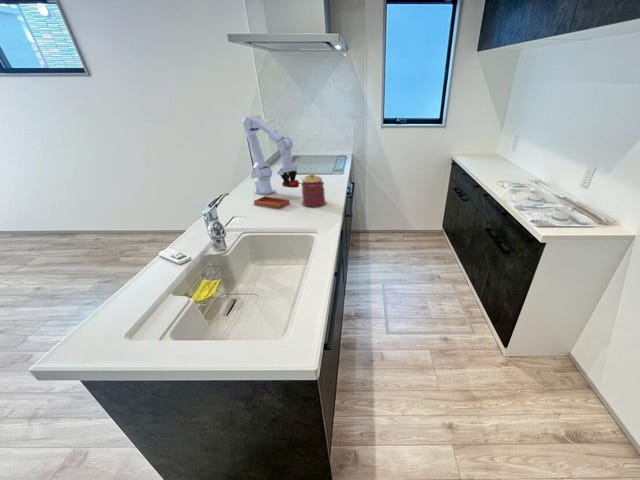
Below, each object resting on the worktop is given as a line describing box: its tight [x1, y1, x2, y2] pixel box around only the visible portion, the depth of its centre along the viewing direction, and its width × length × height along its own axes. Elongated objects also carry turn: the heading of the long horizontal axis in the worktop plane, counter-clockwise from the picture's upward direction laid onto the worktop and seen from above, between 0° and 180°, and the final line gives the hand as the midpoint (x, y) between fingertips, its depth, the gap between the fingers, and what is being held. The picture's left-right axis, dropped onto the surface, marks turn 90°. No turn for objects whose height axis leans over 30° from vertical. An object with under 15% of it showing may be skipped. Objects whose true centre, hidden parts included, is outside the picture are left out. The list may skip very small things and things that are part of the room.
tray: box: [253, 195, 290, 210], centre depth 182 cm, size 18×10×2 cm, turn 66°
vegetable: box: [281, 179, 302, 189], centre depth 187 cm, size 4×5×12 cm
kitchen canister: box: [300, 172, 326, 208], centre depth 179 cm, size 13×13×18 cm
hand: (290, 184), depth 187 cm, fingers closed on vegetable, 5 cm apart
